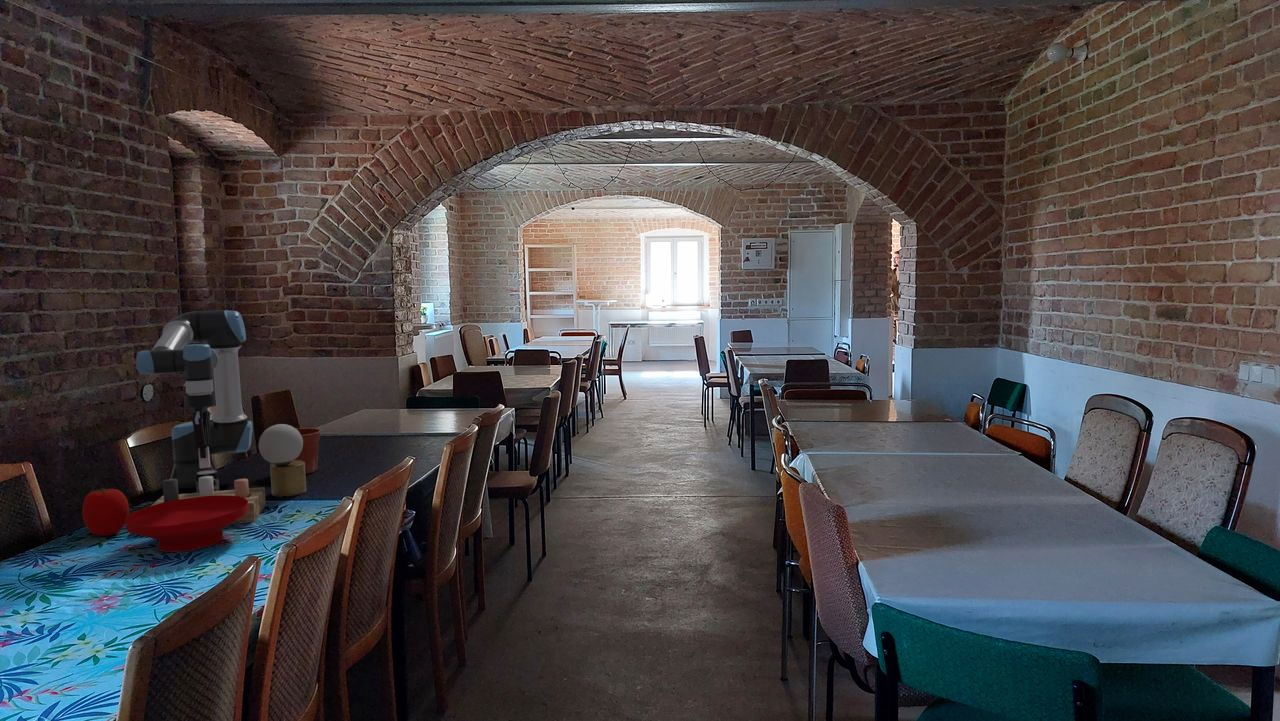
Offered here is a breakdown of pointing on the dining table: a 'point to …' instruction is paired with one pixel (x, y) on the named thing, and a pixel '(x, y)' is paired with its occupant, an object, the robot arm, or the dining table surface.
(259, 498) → the plug board
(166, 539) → the bowl
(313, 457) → the flower pot
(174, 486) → the plug black
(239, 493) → the plug terracotta
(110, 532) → the tomato
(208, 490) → the plug grey
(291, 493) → the lamp
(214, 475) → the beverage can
